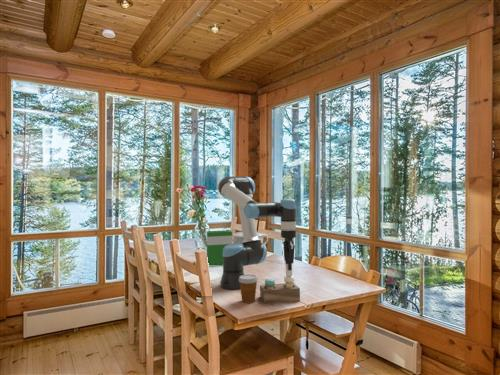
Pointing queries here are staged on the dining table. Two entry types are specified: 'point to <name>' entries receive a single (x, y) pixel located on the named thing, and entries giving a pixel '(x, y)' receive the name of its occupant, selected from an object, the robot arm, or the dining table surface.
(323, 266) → the dining table surface
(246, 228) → the robot arm
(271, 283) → the knob
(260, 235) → the chamber pot
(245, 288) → the disposable coffee cup
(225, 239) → the hardback book
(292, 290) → the mount
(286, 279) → the knob
